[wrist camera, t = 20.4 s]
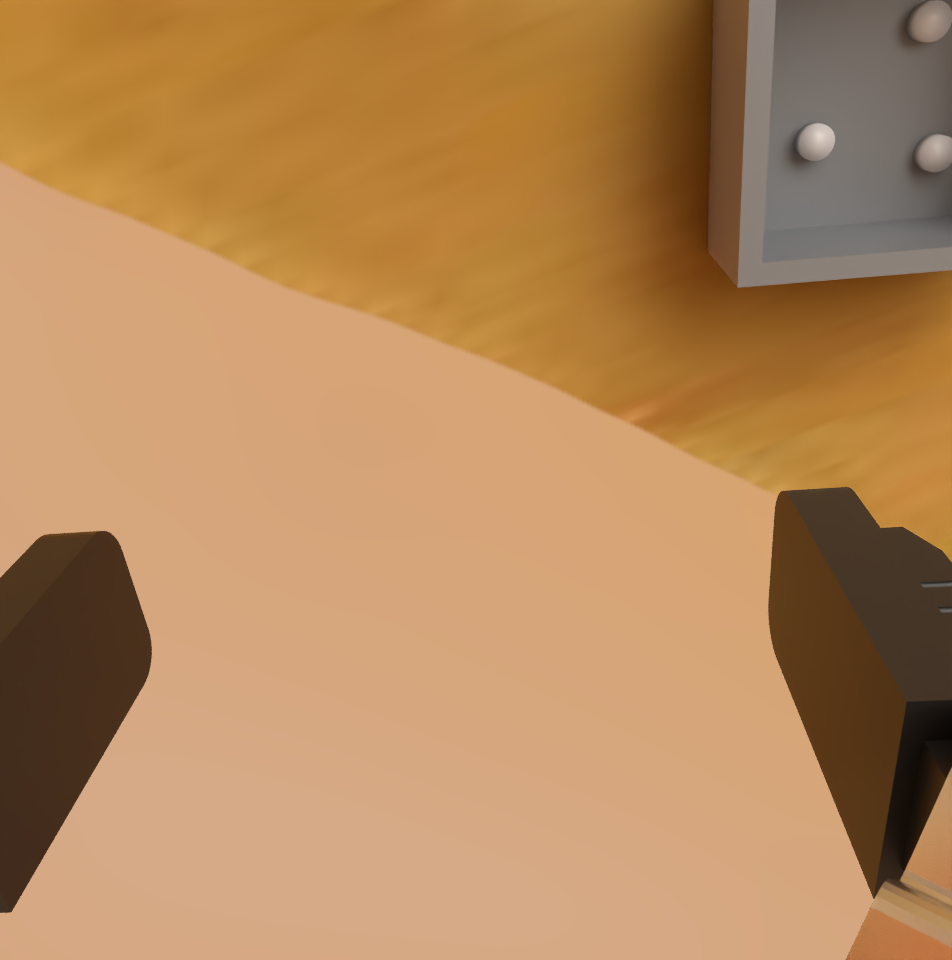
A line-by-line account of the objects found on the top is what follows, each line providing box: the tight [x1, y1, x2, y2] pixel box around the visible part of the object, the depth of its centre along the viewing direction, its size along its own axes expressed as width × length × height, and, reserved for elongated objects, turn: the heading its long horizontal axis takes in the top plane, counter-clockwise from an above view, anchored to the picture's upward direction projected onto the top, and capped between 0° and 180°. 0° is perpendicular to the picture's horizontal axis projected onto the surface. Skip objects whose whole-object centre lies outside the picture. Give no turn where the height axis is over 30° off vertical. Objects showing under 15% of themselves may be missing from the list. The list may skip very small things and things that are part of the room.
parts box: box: [707, 0, 952, 288], centre depth 37 cm, size 14×14×7 cm
